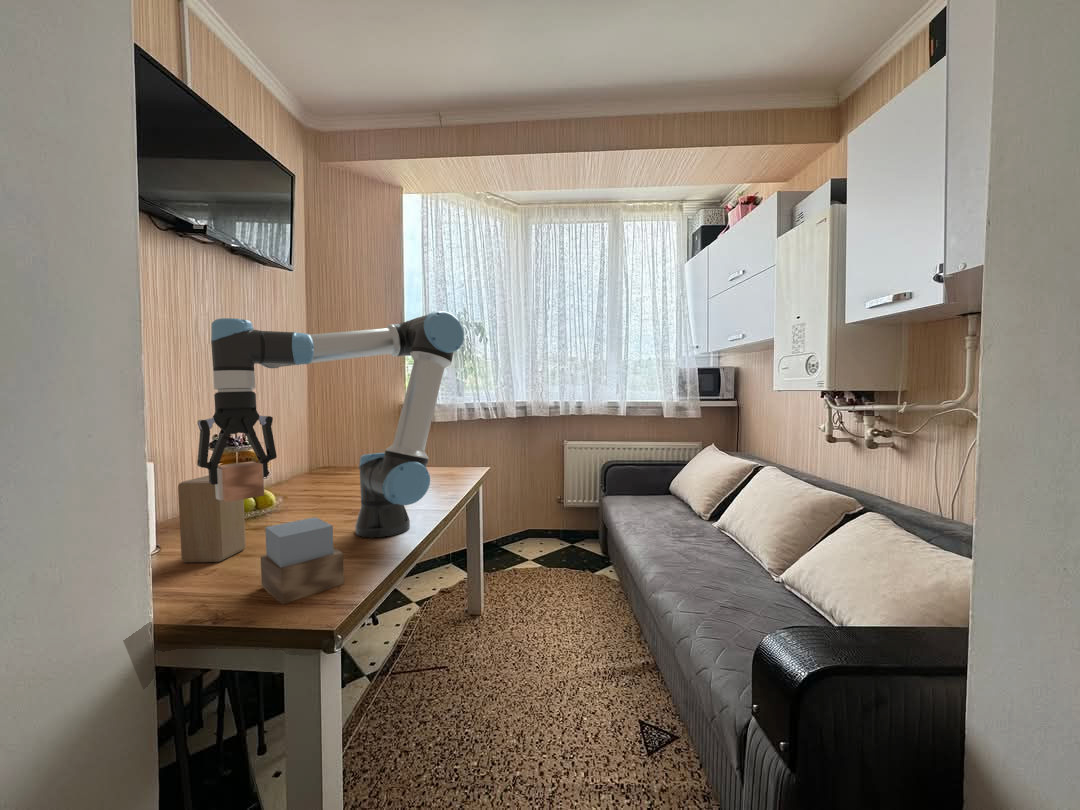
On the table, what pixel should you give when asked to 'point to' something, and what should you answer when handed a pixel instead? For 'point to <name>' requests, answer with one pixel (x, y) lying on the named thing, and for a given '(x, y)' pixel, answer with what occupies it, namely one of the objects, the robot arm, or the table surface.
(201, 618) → the table surface
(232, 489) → the cube
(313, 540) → the tower top
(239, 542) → the block
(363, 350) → the robot arm
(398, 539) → the table surface
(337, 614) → the table surface
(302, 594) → the tower base
